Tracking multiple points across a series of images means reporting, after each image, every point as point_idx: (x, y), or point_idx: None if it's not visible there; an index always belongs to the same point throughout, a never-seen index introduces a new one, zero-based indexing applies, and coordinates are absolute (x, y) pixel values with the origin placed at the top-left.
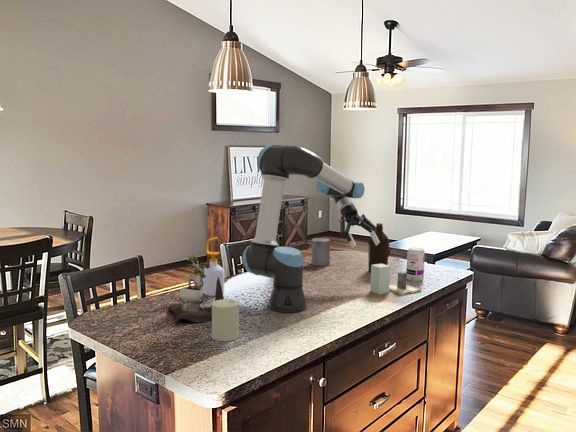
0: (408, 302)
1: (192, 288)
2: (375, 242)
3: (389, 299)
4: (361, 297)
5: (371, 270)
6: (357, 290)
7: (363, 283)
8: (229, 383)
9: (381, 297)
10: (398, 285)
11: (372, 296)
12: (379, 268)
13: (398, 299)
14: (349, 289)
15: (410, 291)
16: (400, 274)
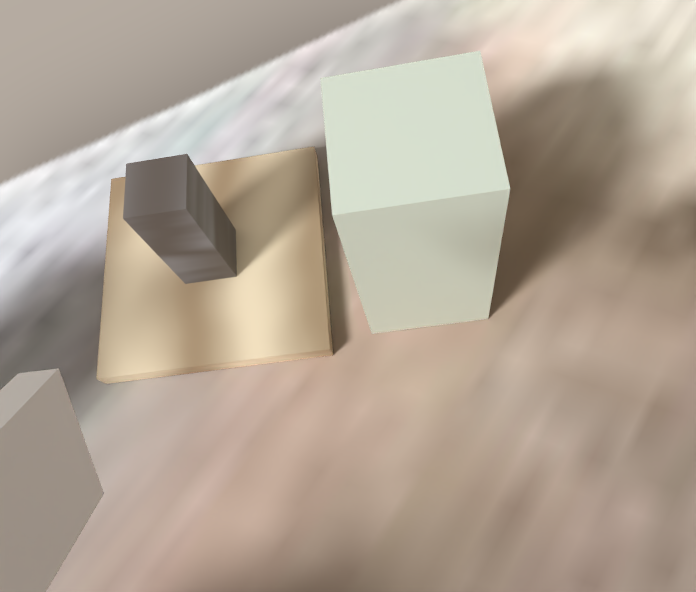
0: (375, 24)
1: None
2: (61, 507)
3: None
4: (653, 193)
5: (501, 220)
6: (595, 380)
7: (405, 589)
8: None
9: None
10: (229, 255)
11: (547, 191)
12: (480, 65)
13: None
14: (662, 438)
15: (218, 163)
16: (192, 182)
